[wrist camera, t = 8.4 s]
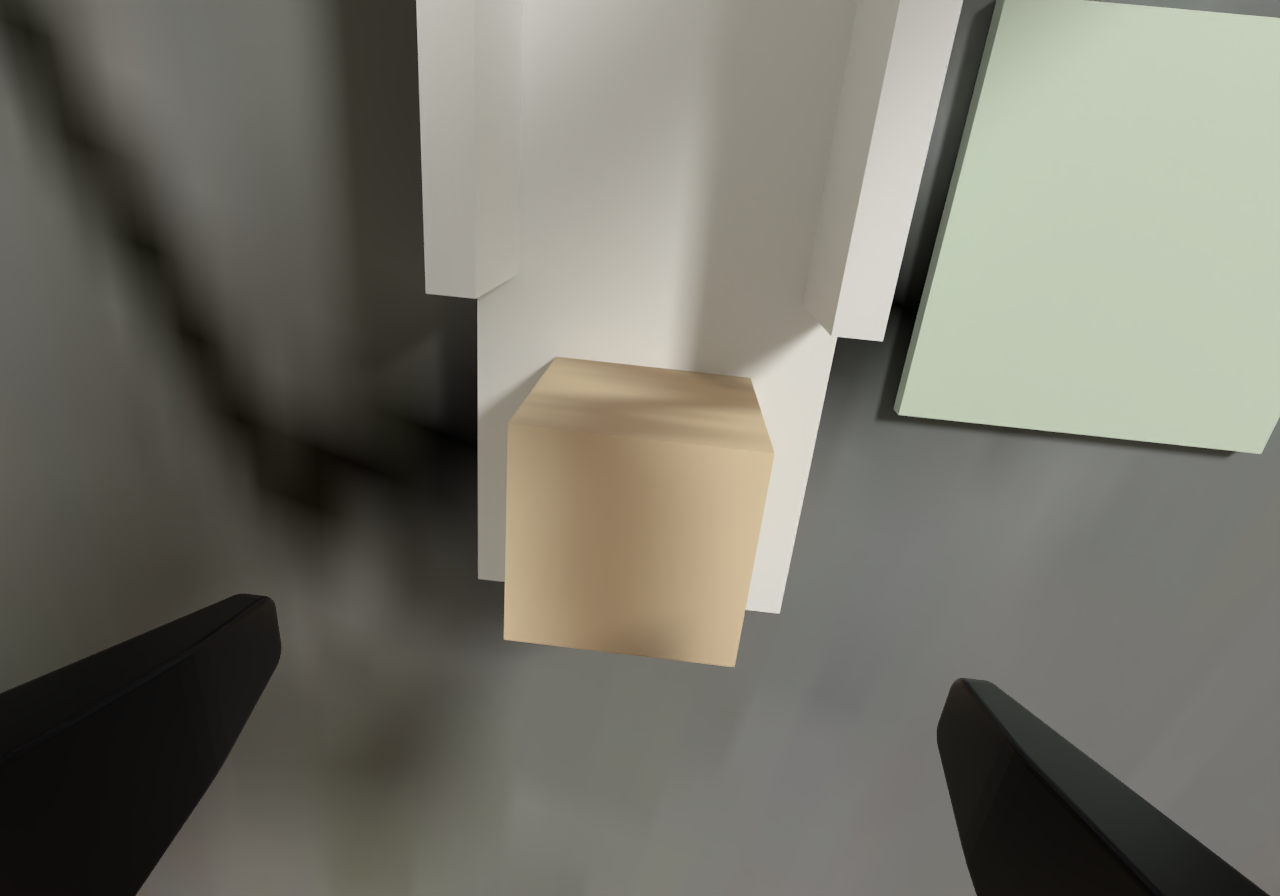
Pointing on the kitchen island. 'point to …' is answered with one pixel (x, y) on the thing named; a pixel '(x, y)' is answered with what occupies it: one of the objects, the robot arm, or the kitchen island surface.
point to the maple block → (634, 510)
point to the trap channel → (674, 200)
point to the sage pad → (1111, 231)
